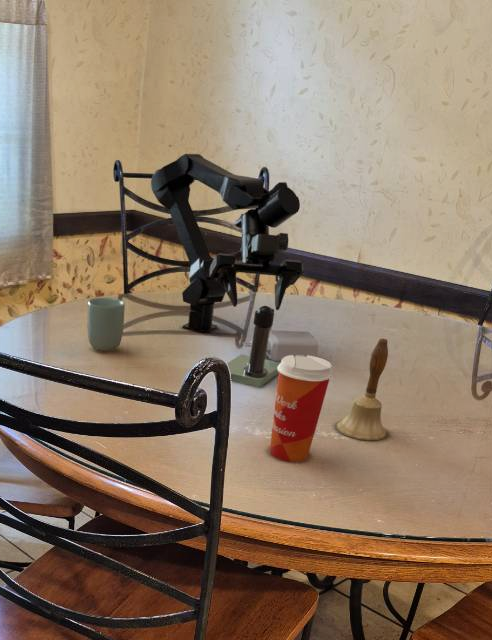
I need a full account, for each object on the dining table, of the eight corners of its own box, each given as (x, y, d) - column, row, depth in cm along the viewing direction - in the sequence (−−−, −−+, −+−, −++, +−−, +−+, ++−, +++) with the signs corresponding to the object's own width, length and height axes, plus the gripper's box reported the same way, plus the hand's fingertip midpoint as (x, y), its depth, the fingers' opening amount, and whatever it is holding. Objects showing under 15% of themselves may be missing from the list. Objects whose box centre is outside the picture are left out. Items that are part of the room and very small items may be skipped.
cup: (118, 356, 152) (120, 308, 146) (83, 352, 153) (84, 304, 147) (125, 345, 158) (127, 299, 153) (91, 341, 159) (92, 295, 154)
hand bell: (389, 443, 119) (415, 349, 111) (338, 437, 120) (360, 344, 112) (382, 424, 126) (406, 334, 118) (334, 419, 127) (355, 329, 119)
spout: (268, 341, 136) (274, 309, 133) (250, 339, 137) (254, 307, 134) (275, 329, 144) (280, 298, 140) (257, 326, 145) (262, 296, 141)
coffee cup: (257, 442, 117) (272, 352, 109) (305, 443, 118) (324, 353, 110) (270, 465, 110) (287, 371, 102) (322, 465, 111) (343, 372, 103)
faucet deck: (240, 360, 153) (248, 308, 147) (283, 370, 149) (292, 317, 143) (215, 376, 143) (221, 321, 138) (259, 387, 139) (268, 331, 134)
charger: (238, 349, 160) (303, 351, 161) (246, 362, 152) (315, 364, 153) (241, 327, 158) (307, 330, 159) (249, 340, 150) (319, 342, 151)
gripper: (223, 211, 141) (224, 284, 139) (313, 220, 144) (315, 292, 141) (208, 242, 152) (209, 311, 150) (291, 250, 155) (293, 317, 152)
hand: (256, 307), depth 148 cm, fingers open, 9 cm apart
